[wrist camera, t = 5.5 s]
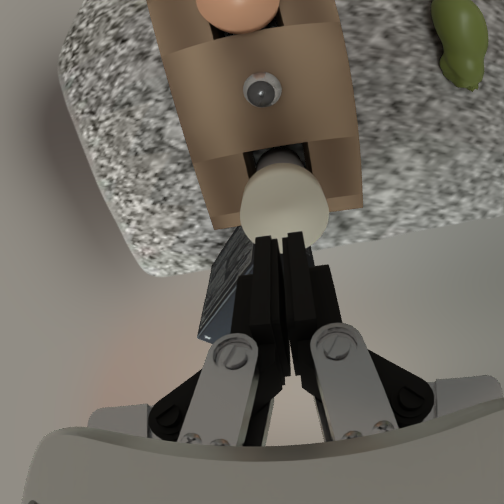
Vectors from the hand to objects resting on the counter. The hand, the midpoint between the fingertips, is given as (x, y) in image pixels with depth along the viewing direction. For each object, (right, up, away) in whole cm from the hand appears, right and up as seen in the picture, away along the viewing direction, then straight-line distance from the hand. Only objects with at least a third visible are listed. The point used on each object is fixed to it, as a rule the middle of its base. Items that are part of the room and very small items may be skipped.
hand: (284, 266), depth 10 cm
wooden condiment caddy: (0, +15, +11) cm, 18 cm away
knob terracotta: (-2, +19, +6) cm, 20 cm away
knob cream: (+1, +7, +11) cm, 13 cm away
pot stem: (-1, +11, +6) cm, 13 cm away
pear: (+18, +21, +5) cm, 28 cm away
